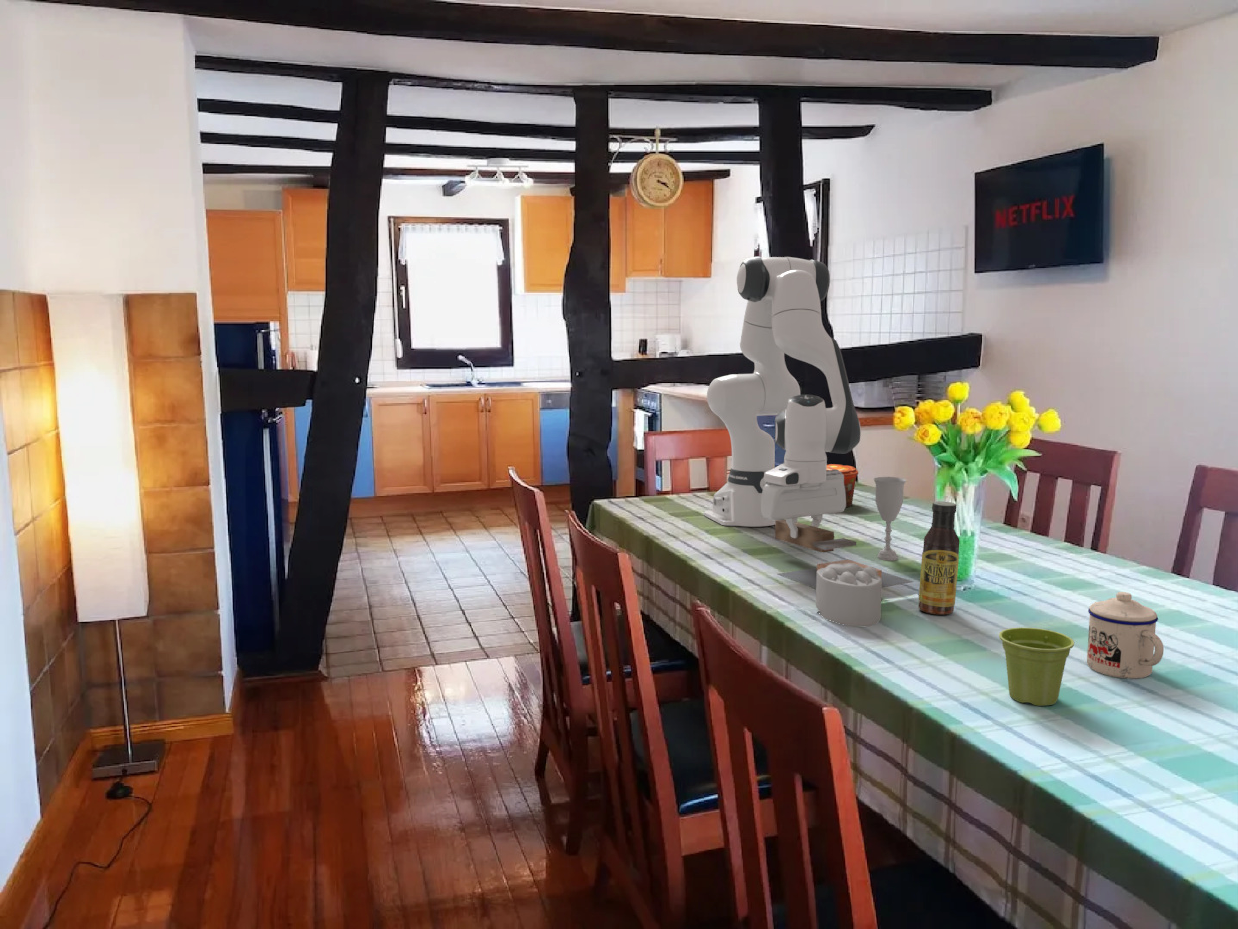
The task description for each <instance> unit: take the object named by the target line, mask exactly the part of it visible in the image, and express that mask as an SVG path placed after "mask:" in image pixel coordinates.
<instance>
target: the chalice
mask: <svg viewBox="0 0 1238 929" xmlns="http://www.w3.org/2000/svg"><path fill="white" fill-rule="evenodd" d="M873 481H874V483H875V499H874V501H875V504H876V508H877V511H878V513H879V515H880V518H881V520H882V521H884V522H885V525H886V527H885V529H884V531H885V534H886V535H885V537H883V539H884V541H885V545H884V548H882V549H880V550H879V551H878V554H877V557H876V558H877V559H878V560H881V561H882V560H883V561H896V560H899V558H898V557H899V556H898V555H897V552H896V550H895V549H892V547H891V541H892V540H893V538H892V537H891V533H892V531H893V530H892V527H891V526H892V525H891V524H892V522H894V521H896V519H897V517H898V515H899V513H900V512H901V509H902V505H903V504H904V487H905V486H904V485H905V484H906V482H907V479H906V478H903V477H896V476H877V477H874V478H873Z"/></svg>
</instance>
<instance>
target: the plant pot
mask: <svg viewBox="0 0 1238 929" xmlns="http://www.w3.org/2000/svg"><path fill="white" fill-rule="evenodd" d="M998 638H999V640H1000V641H1001V642H1002V648H1003V650H1004V654H1005V664H1006V666H1005V667H1006V673H1007V674H1006V675H1007V682H1008V685H1007V686H1008V693H1009V694H1008V695H1009V696H1010V698H1012V699H1013V700H1015V701H1017V702H1019V703H1023V704H1024V703H1030V704H1032V705H1033V706H1041V707H1042V706H1043V707H1044V706H1051V705H1052V706H1053V705H1055V704H1056V703H1057V701H1058V700H1059V696H1060V690H1061V687H1062V680H1063V677H1064V671H1065V666H1066V661H1067V658H1068V657H1069V656H1070V653H1071V652H1070V651H1071V649H1072V648H1074V646H1075V642H1074V639H1073V638H1071V637H1070V636H1068V635H1066V634H1064V633H1061V632H1057V631H1055V630H1050V629H1045V628H1036V627H1009V628H1007V629H1006V628H1005V629H1003V630H1001V631H1000V632H999V633H998Z"/></svg>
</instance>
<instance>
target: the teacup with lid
mask: <svg viewBox="0 0 1238 929" xmlns="http://www.w3.org/2000/svg"><path fill="white" fill-rule="evenodd" d="M1132 598H1133V597H1132V594H1131V593H1129V592H1127V591H1119V592H1117V593H1116V596H1115V597H1111V598H1108V599H1106V600H1101V601H1096V602H1093V603H1092V604H1091V605H1090V606H1089V608H1088V611H1087V612H1088V614H1089V618H1088V619H1089V621H1088V636H1087V651H1086V653H1087V654H1086V664H1087V666H1088V667H1089V668H1090V669H1091V670H1093V671H1095V672H1097V673H1099V674H1103V675H1106V676H1109V677H1114V678H1121V679H1129V680H1130V679H1135V680H1136V679H1144V678H1147V677H1149V676H1150V675H1152V673H1153V666H1156V665H1158V664H1159V663H1160V662H1161V660H1162V659H1163V656H1164V652H1165V650H1164V647H1165V646H1164V643H1163V641H1162V639H1161V638H1160V637H1159V636H1158V635H1157V634H1156V626H1157V624H1156V623H1157V622H1158V621H1159V618H1158V614H1157V612H1156V611H1155V610H1153V609H1152V608H1150V607H1148V606H1145V605H1143V604H1141V603H1140V602H1138V601H1137V600H1134V599H1132Z"/></svg>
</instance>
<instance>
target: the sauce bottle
mask: <svg viewBox="0 0 1238 929" xmlns="http://www.w3.org/2000/svg"><path fill="white" fill-rule="evenodd" d="M931 511H932V521H931V526H930V528H929V530H928V531H927V533H925V535H924V537H923V549H922V553H921V561H920V562H921V563H920V575H919V576H920V577H919V578H920V579H919V588H918V589H919V590H918V601H919V602H918V609H919V611H922V612H924V613H927V614H930V615H935V616H937V615H938V616H940V615H941V616H944V615H945V616H947V614H948V615H951V614H952V613H953V612H954V609H955V604H956V593H957V584H958V582H957V581H958V572H959V562H960V561H959V558H960V554H959V553H960V537H959V536H958V534H957V533H956V531H955V519H956V518H955V517H956V516H955V515H956V513H957V504H956V503H954V502H949V501H933V502H932V507H931Z"/></svg>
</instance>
